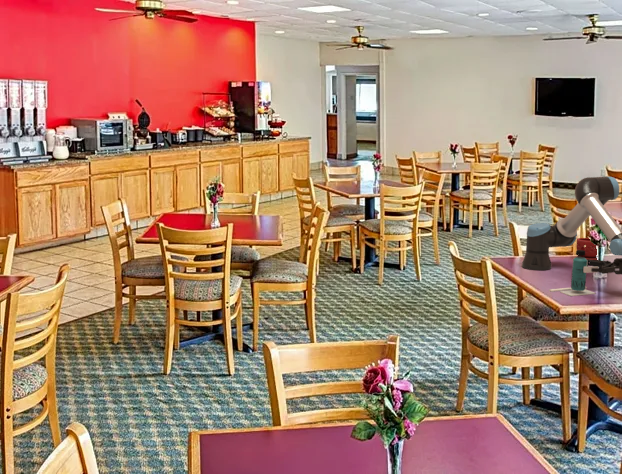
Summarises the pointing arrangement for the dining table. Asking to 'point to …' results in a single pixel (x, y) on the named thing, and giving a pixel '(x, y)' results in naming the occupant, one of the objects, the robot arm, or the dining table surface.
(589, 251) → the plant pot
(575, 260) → the beverage bottle
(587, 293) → the mat
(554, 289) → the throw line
